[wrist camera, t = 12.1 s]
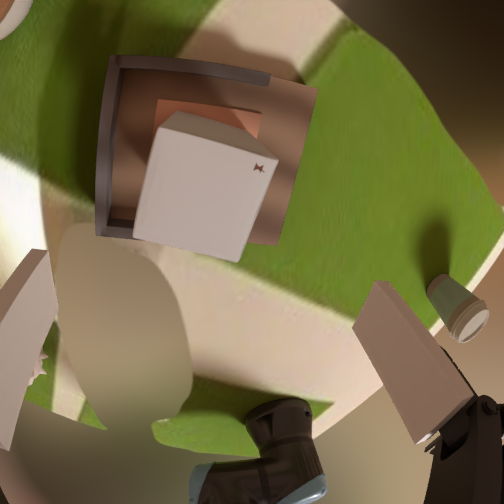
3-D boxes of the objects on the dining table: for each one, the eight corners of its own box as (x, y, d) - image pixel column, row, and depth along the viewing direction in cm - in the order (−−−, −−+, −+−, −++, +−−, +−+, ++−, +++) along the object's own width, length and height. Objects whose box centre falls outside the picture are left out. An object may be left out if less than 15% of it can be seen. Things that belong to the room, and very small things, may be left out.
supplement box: (175, 108, 25) (157, 120, 14) (250, 130, 27) (284, 159, 17) (154, 179, 28) (128, 239, 17) (224, 198, 31) (240, 266, 20)
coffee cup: (415, 308, 50) (449, 351, 40) (427, 270, 46) (468, 314, 36) (446, 299, 51) (479, 337, 41) (458, 263, 47) (497, 301, 37)
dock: (271, 234, 37) (281, 254, 33) (107, 216, 32) (95, 235, 28) (308, 88, 29) (326, 89, 25) (123, 59, 24) (109, 55, 20)
